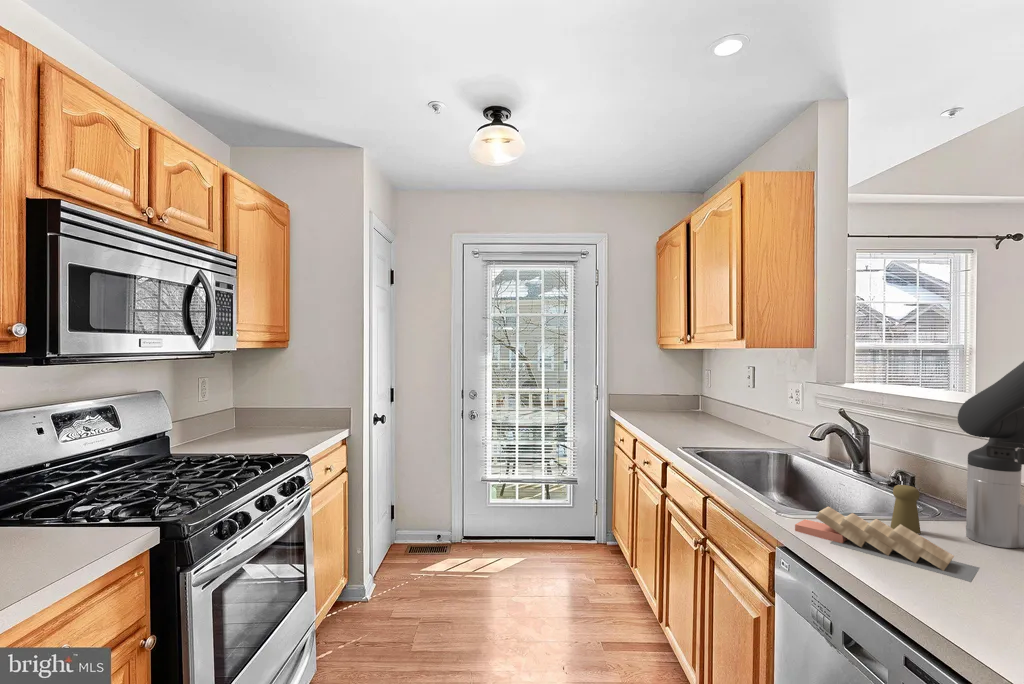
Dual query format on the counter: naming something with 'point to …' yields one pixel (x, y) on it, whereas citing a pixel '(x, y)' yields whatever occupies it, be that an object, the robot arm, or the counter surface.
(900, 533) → the domino
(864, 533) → the domino
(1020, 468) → the robot arm
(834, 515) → the domino
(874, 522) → the domino
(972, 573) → the mat
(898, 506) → the cork
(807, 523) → the domino
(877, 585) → the counter surface
